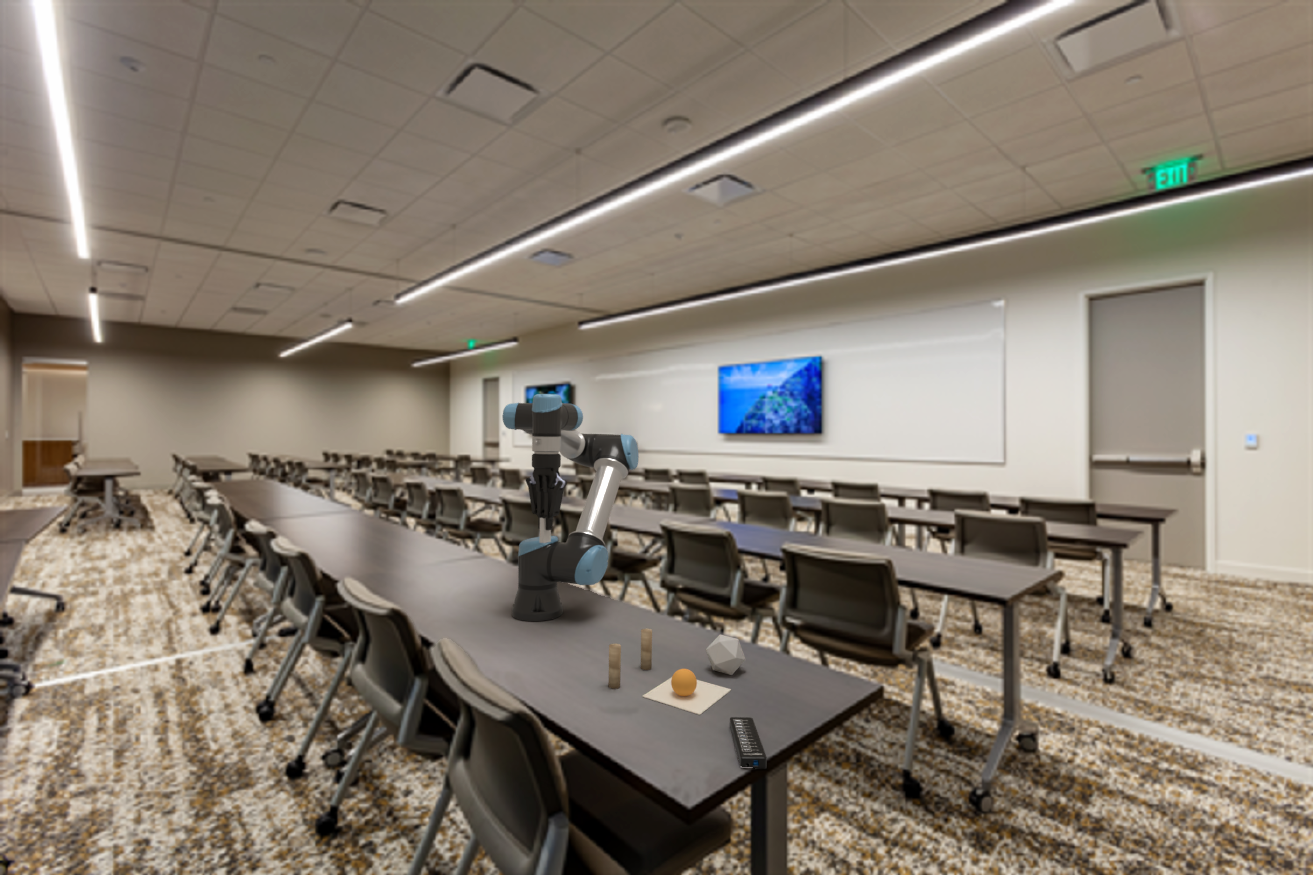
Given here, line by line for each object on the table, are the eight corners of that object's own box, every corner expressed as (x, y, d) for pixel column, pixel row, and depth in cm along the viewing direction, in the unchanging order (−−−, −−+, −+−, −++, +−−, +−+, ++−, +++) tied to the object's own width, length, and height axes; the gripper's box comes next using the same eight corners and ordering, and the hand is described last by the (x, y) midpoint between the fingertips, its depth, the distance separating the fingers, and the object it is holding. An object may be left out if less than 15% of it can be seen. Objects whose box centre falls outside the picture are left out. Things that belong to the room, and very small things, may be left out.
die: (751, 672, 144) (738, 633, 149) (745, 666, 137) (732, 625, 142) (718, 683, 145) (707, 643, 150) (711, 677, 138) (699, 635, 143)
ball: (696, 696, 131) (676, 681, 134) (705, 675, 130) (685, 660, 133) (682, 705, 126) (662, 689, 129) (692, 683, 125) (671, 667, 128)
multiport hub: (752, 728, 117) (752, 716, 117) (766, 771, 102) (767, 757, 102) (729, 728, 117) (729, 716, 116) (740, 771, 102) (740, 757, 102)
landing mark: (676, 674, 140) (676, 674, 140) (731, 690, 132) (731, 689, 132) (642, 696, 128) (642, 695, 128) (699, 715, 121) (699, 714, 121)
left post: (613, 682, 135) (613, 642, 135) (622, 685, 134) (623, 645, 134) (606, 686, 133) (606, 646, 133) (615, 689, 132) (616, 648, 132)
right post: (644, 664, 146) (645, 627, 146) (653, 667, 144) (654, 629, 144) (638, 668, 144) (639, 630, 143) (647, 671, 142) (648, 632, 142)
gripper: (518, 452, 160) (517, 541, 160) (554, 454, 153) (553, 547, 153) (538, 451, 166) (537, 537, 167) (574, 453, 159) (573, 542, 160)
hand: (545, 541), depth 160 cm, fingers closed
